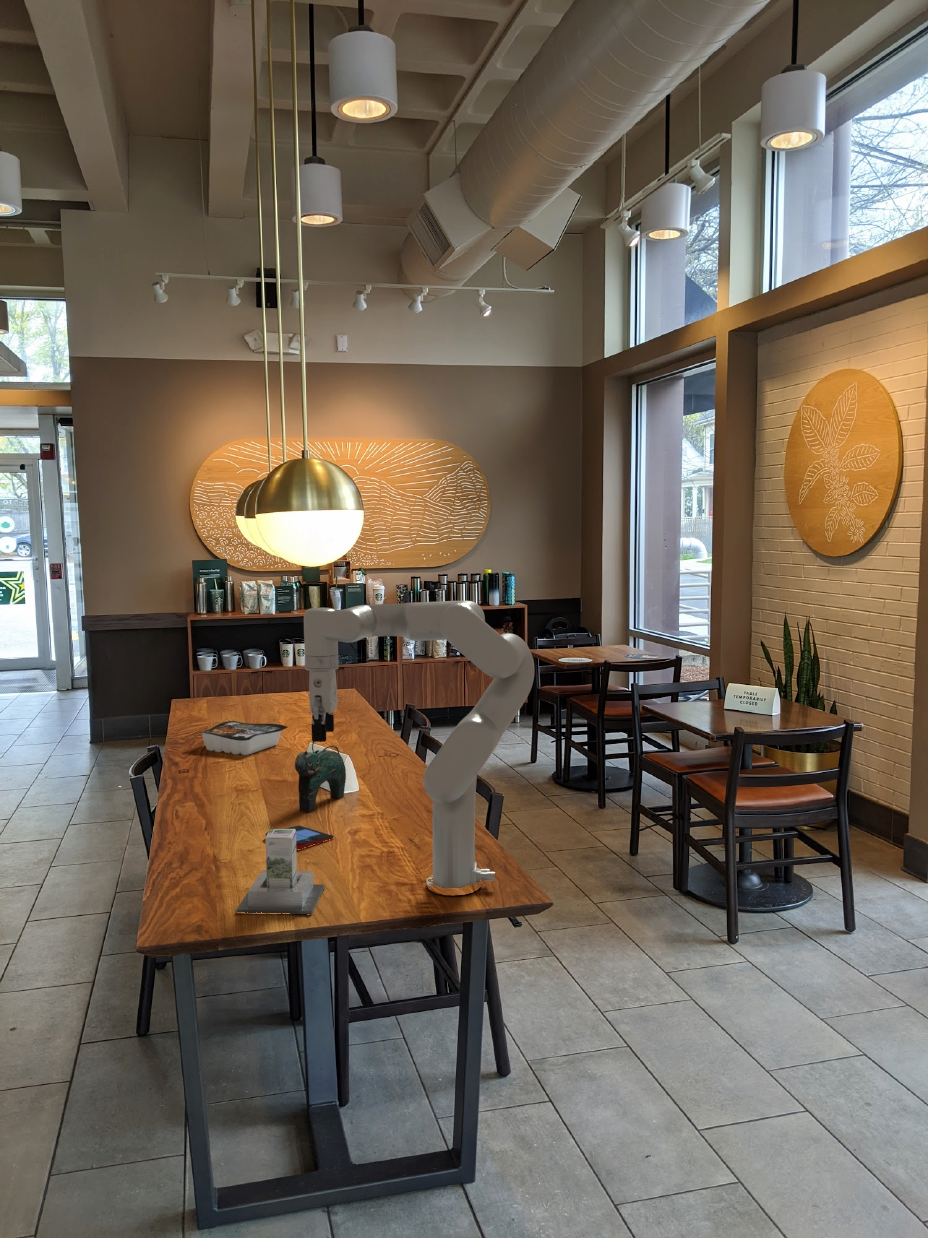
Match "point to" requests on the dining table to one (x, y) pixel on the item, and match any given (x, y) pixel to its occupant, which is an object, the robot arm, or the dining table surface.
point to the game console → (308, 836)
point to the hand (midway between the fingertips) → (323, 736)
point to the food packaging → (242, 737)
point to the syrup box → (281, 858)
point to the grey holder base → (282, 896)
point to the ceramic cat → (319, 775)
